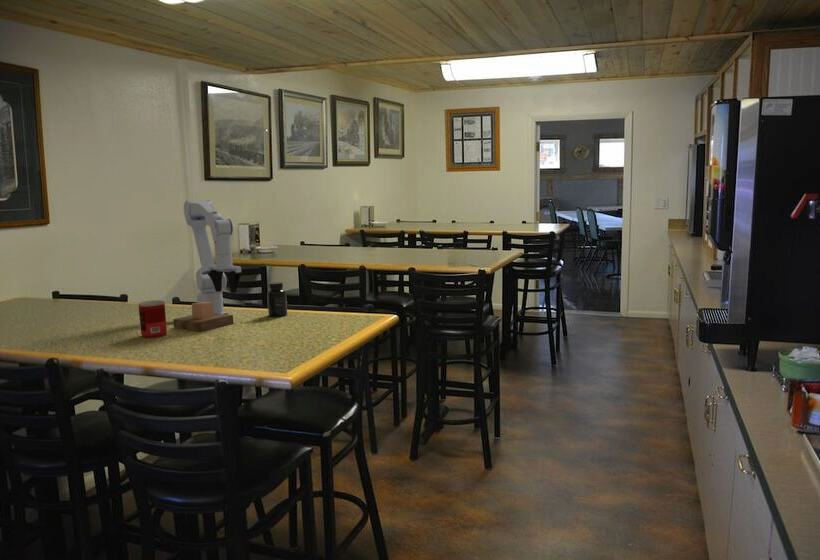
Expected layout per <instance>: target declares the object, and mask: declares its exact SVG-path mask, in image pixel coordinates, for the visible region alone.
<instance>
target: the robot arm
mask: <svg viewBox="0 0 820 560" xmlns="http://www.w3.org/2000/svg"><path fill="white" fill-rule="evenodd" d="M183 214H184V219H185V222H186V224H187V226H189V227H191V231H192V233H193V236H194V241H195V246H196V249H197V253H198V257H199V261H200V266H201V267H199V269H198V270H197V271H196V274H195V280H196V281H195V282H196V287H197V290H199V292H198V293H197V296H196V303H197V302H202V301H206V302H213V310H214V313H218V314H227V315H228V314H229V311H224V301H223V300H224V299H223V291H224V290H225V289H226V287H227V282H228V283H229V284H228V285H229V291H230V293H231V294H234V293H237V290H238V286H239V281H240V279H241V277H242V275H243V274H242V273H243V272H242V267H241V266H238V265H233V263H234V262H233V251H232V250H233V249H232V237H231V236H232V235H233V232H234V227H233V222H232V220H231V218H226V219H225V218H224V217H223V216H222V215H221V214H220V212H219V211H218V210H214V204H213V202H212V200H211V199H207V200H205V199H204V200H203V199H202V200H185V201H184V203H183ZM207 226H208V227H209V228H210V232H211V237H212V241H213V244H214V255H213V252H212V248H211V247H212V246H211V244H210V239H209V236H208V232H207ZM213 256H214V257H215V258H214V257H213ZM214 259H215V260H214ZM225 272H226V273H225ZM227 280H228V281H227Z"/></svg>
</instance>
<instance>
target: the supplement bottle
mask: <svg viewBox="0 0 820 560" xmlns="http://www.w3.org/2000/svg"><path fill="white" fill-rule="evenodd" d="M268 284H269V287H268V288H269V290H268V291H267V292H266V293H267V296H266V297H267V308H268V309H267V310H268V312H267V313H268V316H269V317H273V318H279V317H285V316H287V315H288V304H287V292H286V290H285V289H284V285H283V282H281V281H279V282H270V283H268Z"/></svg>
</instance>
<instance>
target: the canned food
mask: <svg viewBox="0 0 820 560" xmlns="http://www.w3.org/2000/svg"><path fill="white" fill-rule="evenodd" d="M138 314H139V325H140V335H141V337H142V338H143V337H144V339H155V338H156V339H157V338H160V337H164V336H166V335H167V333H168V330H167V317H166V303H165V301H164V300H161V299H160V300H159V299H157V300H155V299H154V300H146V301H141V302H138Z"/></svg>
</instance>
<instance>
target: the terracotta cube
mask: <svg viewBox="0 0 820 560" xmlns="http://www.w3.org/2000/svg"><path fill="white" fill-rule="evenodd" d="M191 315H192V316H193V318H198V319H205V318H209V317H214V310H213V302H206V301H202V302H197V301H196V302H192V303H191Z"/></svg>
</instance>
